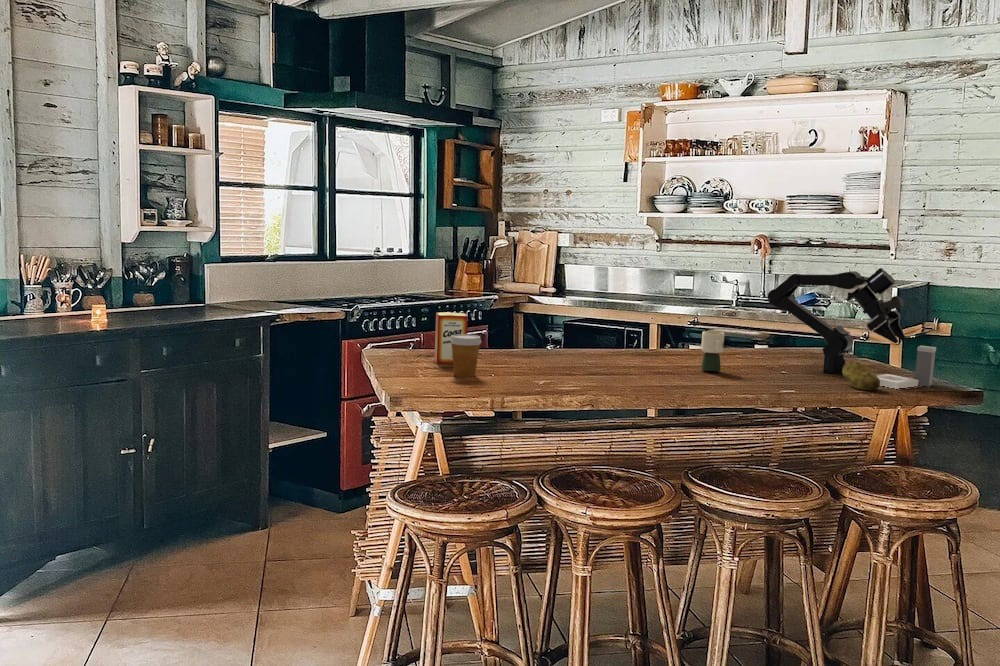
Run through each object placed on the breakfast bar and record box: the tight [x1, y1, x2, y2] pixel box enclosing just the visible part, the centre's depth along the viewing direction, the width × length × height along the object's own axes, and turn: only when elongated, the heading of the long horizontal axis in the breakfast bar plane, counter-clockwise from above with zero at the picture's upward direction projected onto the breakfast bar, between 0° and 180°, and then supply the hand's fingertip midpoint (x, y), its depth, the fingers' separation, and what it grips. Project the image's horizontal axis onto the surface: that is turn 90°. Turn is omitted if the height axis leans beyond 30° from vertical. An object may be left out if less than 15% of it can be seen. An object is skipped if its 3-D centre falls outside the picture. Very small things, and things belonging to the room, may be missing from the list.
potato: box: [842, 360, 880, 392], centre depth 305 cm, size 8×13×8 cm, turn 7°
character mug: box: [700, 330, 725, 373], centre depth 322 cm, size 11×7×13 cm, turn 7°
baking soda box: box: [434, 311, 469, 365], centre depth 318 cm, size 10×6×16 cm
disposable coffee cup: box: [450, 333, 482, 378], centre depth 297 cm, size 10×10×12 cm
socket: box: [875, 373, 919, 390], centre depth 312 cm, size 11×11×3 cm
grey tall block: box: [914, 345, 937, 388], centre depth 313 cm, size 5×5×12 cm
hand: (900, 341), depth 317 cm, fingers open, 9 cm apart
